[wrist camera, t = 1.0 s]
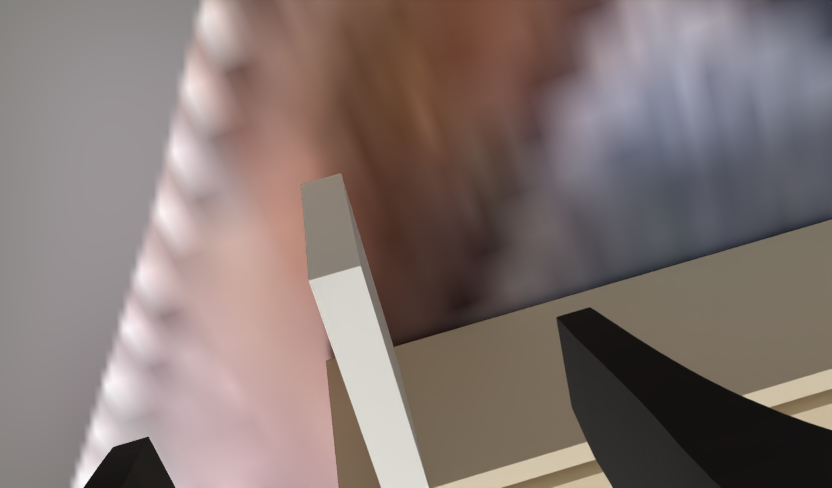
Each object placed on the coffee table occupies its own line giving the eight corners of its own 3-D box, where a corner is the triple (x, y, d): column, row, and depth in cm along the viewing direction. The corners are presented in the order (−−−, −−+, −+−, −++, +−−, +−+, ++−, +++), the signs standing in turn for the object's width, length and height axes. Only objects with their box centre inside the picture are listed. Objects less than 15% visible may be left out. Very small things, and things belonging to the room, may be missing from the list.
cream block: (857, 13, 20) (1058, 66, 15) (848, 231, 23) (1011, 338, 18) (261, 180, 19) (256, 295, 14) (333, 382, 22) (350, 536, 17)
